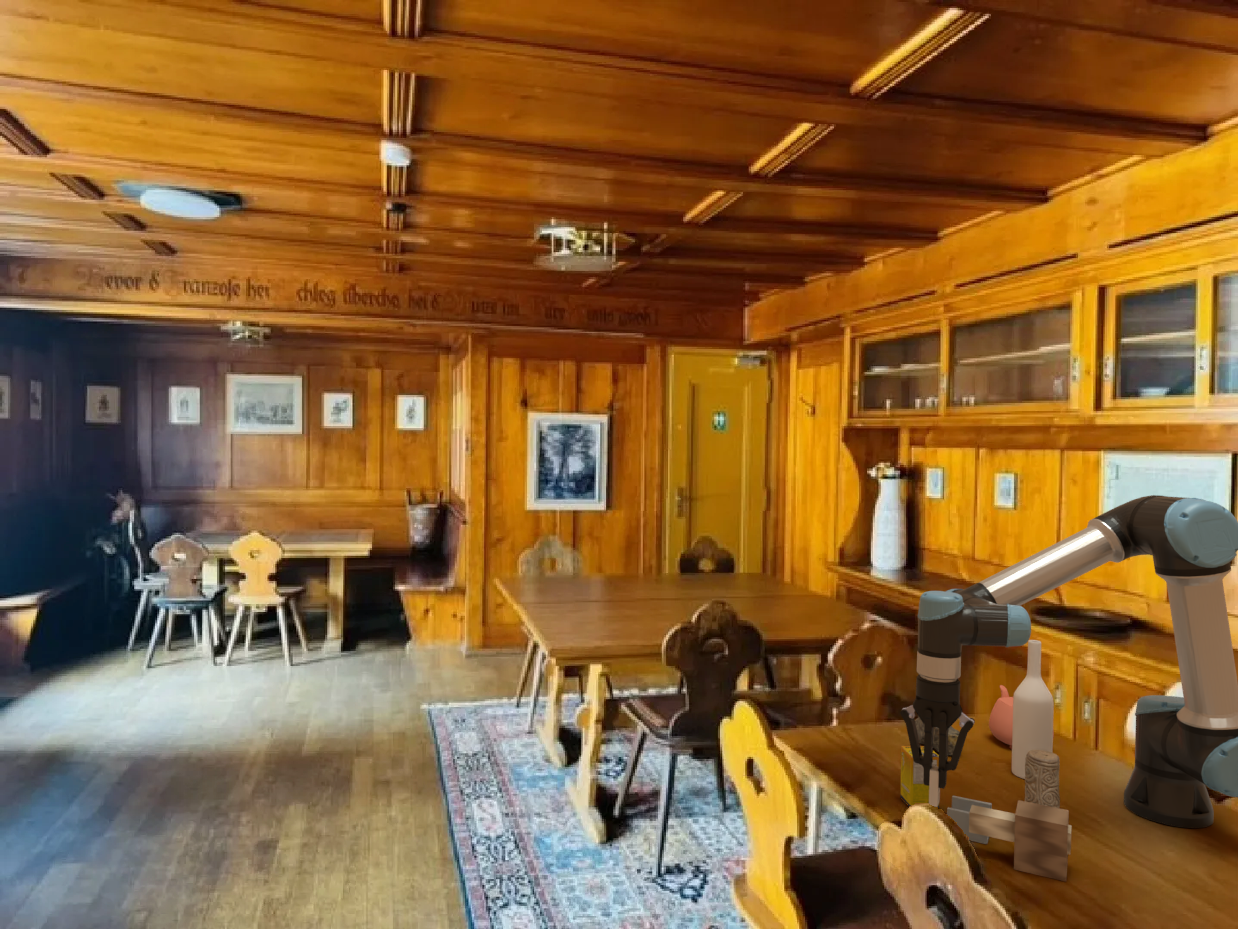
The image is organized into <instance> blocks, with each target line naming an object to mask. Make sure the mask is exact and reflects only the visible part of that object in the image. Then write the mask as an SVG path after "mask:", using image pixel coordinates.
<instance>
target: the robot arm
mask: <svg viewBox="0 0 1238 929" xmlns="http://www.w3.org/2000/svg"><path fill="white" fill-rule="evenodd" d="M1237 552H1238V520H1237V518H1236V517H1235V516H1234V514H1233V513H1232V512H1231V511H1230V510H1228V509H1227V508H1226V507H1224V506H1223V505H1222V504H1219V503H1217V502H1214V501H1210V500H1205V499H1202V498H1197V497H1182V496H1181V497H1180V496H1179V497H1178V496H1168V495H1167V496H1166V495H1158V494H1157V495H1156V494H1153V495H1145V496H1141V497H1138V498H1137V497H1136V498H1135V499H1131V500H1129V501H1126V502H1125V503H1122V504H1120V505H1117V506H1115V507H1114V508H1112V509H1110V510H1107V511H1105V512H1103V513H1101V514H1100V515H1098V516H1095V517H1094V518H1092V519H1090V520H1089V521H1088V522H1087V526H1086V528H1084V529H1082V530H1080V531H1078V532H1076V533H1074V534H1072V535H1070V536H1068V537H1066V538H1063V539H1061V540H1060V541H1057V542H1056V543H1054V544H1051V545H1050V546H1047V547H1046V548H1044V549H1042V550H1040V551H1038V552H1036V553H1033V554H1032V555H1030V556H1029V557H1026V558H1024V559H1023V560H1020V561H1019V562H1017V563H1013V565H1011V566H1009V567H1006V568H1005V569H1003V570H1001V571H998V572H997V573H995V574H993V575H991V576H989V577H987V578H985V579H983V580H981V581H979V582H976V583H975V584H972V585H971V586H968V587H966V588H964V589H963V588H951V589H948V590H945V591H943V590H929V591H925V592H923V593H922V594H921V595H920V597H919V602H918V613H917V621H918V622H917V624H918V625H917V652H916V653H917V655H916V673H917V674H918V675H917V676H916V679H915V680H916V686H915V699H914V701H913V702H912V704H911V705H909V706H904V707H902V709H901V710H900V711H899V713H900V716H901V718H902V720H903V721H904V723H905V726H906V727H905V728H906V731H907V736H908V741H909V746H911V751H912V756H913V760H914V762H915V763H917V764H920V765H922V766H923V768H924V778H923V782H924V785H928V786H929V804H930V805H932V806H934V807H938V804H939V805H940V802H941V801H940V800H941V789H945V788H946V786H947V779H948V778H947V776H948V775H947V774H948V771H956V770H957V767H958V765H959V762H960V758H961V754H962V751H963V748H964V746H965V742H966V739H967V736H968V733H969V732H970V730H971V729H972V728H973V727H974V725H975V723H976V722H975V719H974V718H973V717H969V716H968V715H967V714H965V713H964V712H963V708H962V706H961V701H960V700H961V681H960V680H959V678H960V677H961V673H962V672H961V671H962V670H961V667H962V663H961V662H962V648H963V646H978V647H979V646H982V647H984V646H985V647H986V646H987V647H1005V648H1009V647H1021V646H1022V647H1023V646H1025V645H1026V644H1028V641H1029V640H1030V638H1031V634H1032V622H1031V617H1030V614H1029V613H1028V611H1027V609H1025V608H1024V607H1023V606H1022V605H1024V604H1026V603H1028V602H1030V601H1032V600H1034V599H1037V598H1039V597H1041V596H1043V595H1044V594H1046V593H1048V592H1050V591H1052V590H1055V589H1056V588H1058V587H1060V586H1063V585H1065V584H1066V583H1069V582H1070V581H1072V580H1074V579H1077V578H1079V577H1081V576H1083V575H1084V574H1087V573H1089V572H1091V571H1093V570H1094V569H1097V568H1099V567H1101V566H1102V565H1104V564H1106V563H1108V562H1113V563H1115V564H1116V563H1122V562H1123V561H1125V560H1126V559H1129V558H1132V557H1138V556H1144V555H1145V556H1146V555H1150V556H1152V561H1153V567H1154V572H1155V575H1157V576H1158V577H1159V578H1161V579H1163V581H1164V582H1165V583H1166V590H1167V595H1168V602H1169V607H1170V608H1169V609H1170V616H1171V623H1172V628H1173V635H1174V636H1173V637H1174V641H1175V642H1174V643H1175V648H1176V654H1177V655H1176V657H1177V661H1178V669H1179V675H1180V682H1181V689H1182V696H1183V697H1182V696H1173V695H1159V694H1157V695H1155V694H1154V695H1152V694H1151V695H1144V696H1140V697H1139V698H1138V699H1137V702H1136V706H1135V712H1134V716H1135V736H1134V737H1135V742H1134V767H1133V770H1132V773H1131V774H1130V778H1128V781H1127V784H1126V786H1125V789H1124V792H1123V805H1124V806H1125V808H1126V809H1128V810H1129V811H1130V812H1132V813H1133V814H1135V815H1136V816H1140V817H1141V818H1144V819H1146V820H1149V821H1152V822H1154V823H1158V824H1161V825H1162V824H1163V825H1166V826H1171V827H1179V828H1184V829H1185V828H1186V829H1202V828H1207V827H1209V826H1211V825H1213V824H1214V818H1215V817H1214V807H1213V803H1212V801H1211V798H1210V796H1209V792H1208V789H1207V788H1209V789H1210V790H1213V791H1215V792H1218V793H1220V794H1223V795H1225V796H1229V797H1231V798H1238V675H1237V670H1236V669H1237V668H1236V662H1235V656H1234V650H1233V643H1232V635H1231V630H1230V629H1231V628H1230V620H1229V616H1228V608H1227V601H1226V595H1225V594H1226V593H1225V588H1224V581H1223V579H1224V578H1225V577H1226V576H1228V574H1230V573H1231V571H1232V565H1231V562H1232V560H1234V558H1236V556H1237ZM916 715H917V717H918V716H919V717H920V719H921V720H922V722H923V723H924V732H925V736H924V745H923V746H924V756H922V752H921V747H920V746H921V743H920V742H919V738H918V733H917V728H916V723H915V720H916V718H915V717H916ZM958 719H959V724H958V725H959V727H960V728H961V729H960V730H959V735H958V739H957V742H956V745H955V748H954V752H953V755H952V756H951V759H950V760H948V757H949V756H948V731H949V727H951V726H952V727H953V724H954V723H956V722H957V721H958ZM934 727H937V728H939V752H938V755H939V765H938V767H937V766H932V763H933V751H934V748H933V735H934Z"/></svg>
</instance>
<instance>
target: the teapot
mask: <svg viewBox="0 0 1238 929" xmlns="http://www.w3.org/2000/svg"><path fill="white" fill-rule="evenodd" d="M999 689H1000V693H1001V694H1000V695H1001V696H1000V697H999V698H998V699H997V700H996V702H995V703H994V706H993V708H992V709H991V712H990V716H989V720H988V728H989V730H990V732H991V734H992V735H993V736H994V737H995V738H996V739H997V740H998V741H1000V742H1002V743H1004V744H1007V745H1009V749H1011V750H1012V733H1013V697H1014V696H1010V695H1009V692H1008V688H1006V686H1004V685H1003V684H1000V685H999ZM1054 731H1055V730H1053V739H1054V737H1055V734H1054Z"/></svg>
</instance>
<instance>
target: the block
mask: <svg viewBox="0 0 1238 929" xmlns="http://www.w3.org/2000/svg"><path fill="white" fill-rule="evenodd" d="M1069 812H1070V810H1068V809H1064V808H1060V807H1059V808H1055V807H1050V806H1045V805H1040V804H1035V803H1030V802H1025V800H1024V801H1023V800H1019V799H1018V800H1017V804H1016V809H1015V813H1014V814H1015V842H1014V846H1013V847H1014V848H1013V849H1014V850H1013V851H1014V853H1013V870H1016V871H1020V872H1023V873H1028V874H1031V875H1036V876H1041V877H1045V878H1049V879H1052V880H1053V879H1054V880H1058V881H1061V882H1067V878H1068V877H1067V875H1068V855H1069V854H1067V839H1068V825H1069V820H1070V819H1069V815H1070V814H1069Z"/></svg>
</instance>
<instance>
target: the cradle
mask: <svg viewBox="0 0 1238 929" xmlns="http://www.w3.org/2000/svg"><path fill="white" fill-rule="evenodd" d="M972 805H975V806H980V807H985V808H990V809H993V808H992V805H993V803H992V802H986V801H982V800H976V799H971V798H967V797H961V796H956V795H952V796H951V807H949V806H948V807H947V809H946V811H947V812H946V816H947V815H948V816H950V817H951V818H952V819H953V820H954V821H955V822H957V825H958V826H959V827H960V828H961V829H962V830H963V832H964V834H966V835H967V836H968V837H969V840H968V841H970V840H971V842H975V843H978V844H979V843H980V844H984V845H988V844H989V840H990V837H989V836H984V835H980V834H975V833H971V832H969V812H970V809H971V806H972Z"/></svg>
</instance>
